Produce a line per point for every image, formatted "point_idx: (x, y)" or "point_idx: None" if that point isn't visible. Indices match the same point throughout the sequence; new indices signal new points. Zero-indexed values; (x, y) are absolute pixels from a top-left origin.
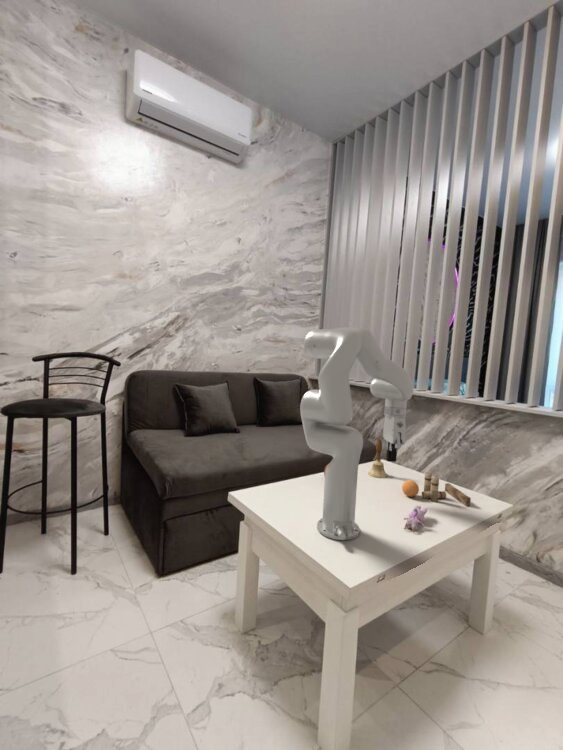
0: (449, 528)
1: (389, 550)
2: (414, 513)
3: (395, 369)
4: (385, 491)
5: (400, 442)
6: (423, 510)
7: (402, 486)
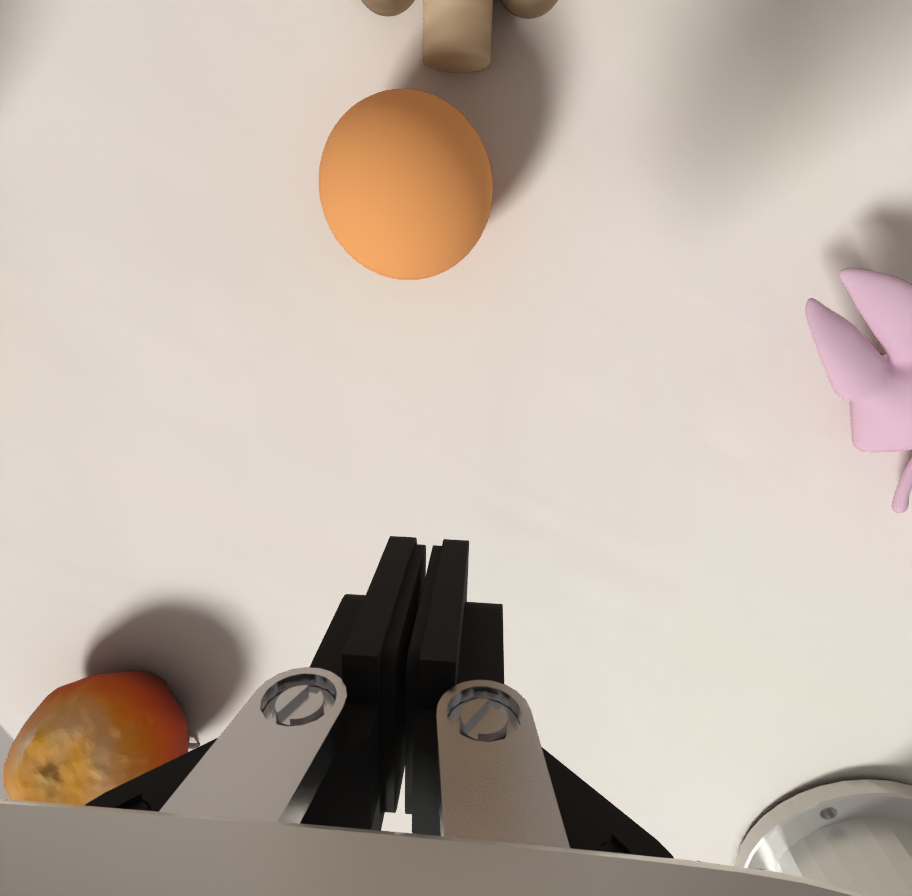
0: None
1: None
2: None
3: None
4: (317, 388)
5: (518, 880)
6: None
7: (388, 276)
